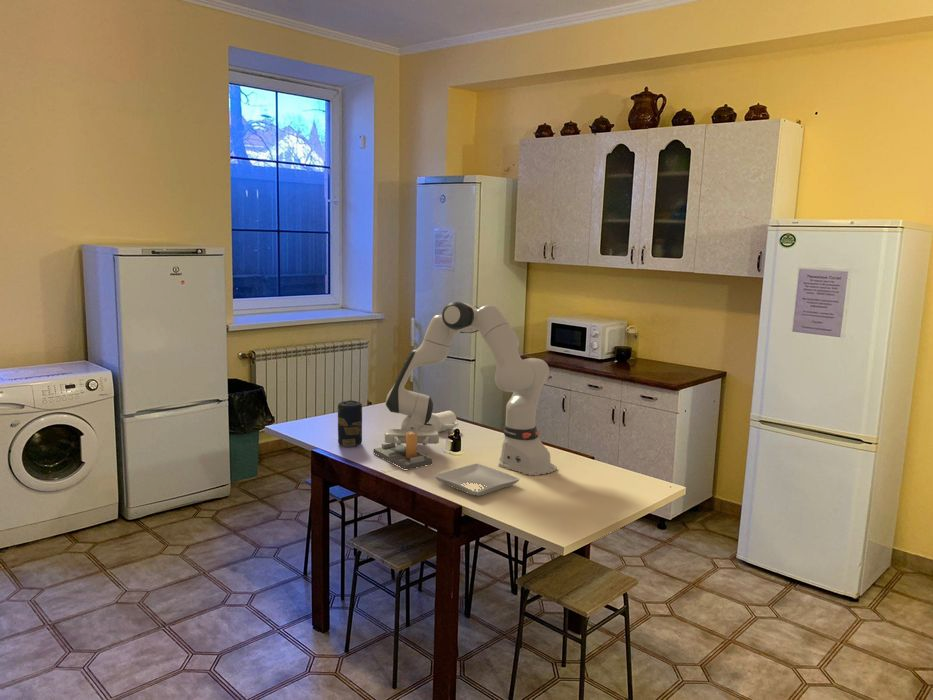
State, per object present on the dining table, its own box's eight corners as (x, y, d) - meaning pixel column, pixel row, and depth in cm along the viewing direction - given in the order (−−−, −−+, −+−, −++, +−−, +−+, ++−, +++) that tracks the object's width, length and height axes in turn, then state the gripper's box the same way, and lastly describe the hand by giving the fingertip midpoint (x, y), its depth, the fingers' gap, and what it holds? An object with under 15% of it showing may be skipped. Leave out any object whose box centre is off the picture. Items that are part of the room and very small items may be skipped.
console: (432, 464, 261) (432, 455, 260) (404, 470, 254) (404, 461, 253) (400, 448, 278) (400, 440, 278) (373, 453, 271) (373, 445, 270)
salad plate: (476, 470, 257) (476, 461, 256) (520, 487, 242) (521, 477, 242) (432, 484, 242) (432, 474, 242) (476, 502, 227) (477, 492, 227)
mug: (427, 430, 304) (427, 412, 303) (443, 426, 311) (444, 408, 310) (446, 437, 296) (447, 418, 294) (463, 432, 303) (464, 414, 302)
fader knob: (418, 457, 261) (419, 433, 259) (409, 459, 258) (410, 434, 257) (412, 454, 264) (413, 430, 262) (403, 456, 261) (404, 432, 260)
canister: (363, 447, 278) (363, 403, 275) (338, 448, 276) (338, 403, 273) (360, 440, 287) (361, 397, 284) (336, 441, 285) (336, 397, 282)
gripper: (385, 423, 272) (383, 434, 258) (438, 424, 273) (439, 435, 260) (384, 439, 273) (382, 450, 259) (438, 440, 274) (439, 451, 261)
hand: (411, 443), depth 260 cm, fingers open, 8 cm apart
